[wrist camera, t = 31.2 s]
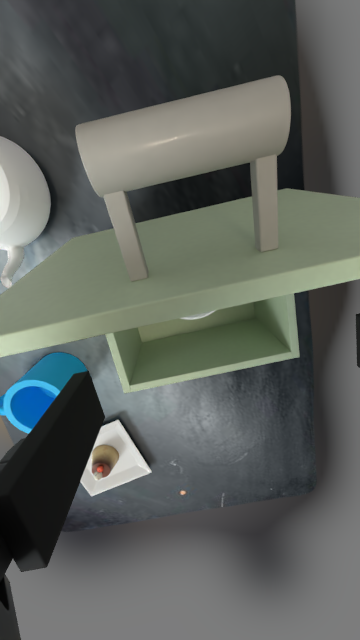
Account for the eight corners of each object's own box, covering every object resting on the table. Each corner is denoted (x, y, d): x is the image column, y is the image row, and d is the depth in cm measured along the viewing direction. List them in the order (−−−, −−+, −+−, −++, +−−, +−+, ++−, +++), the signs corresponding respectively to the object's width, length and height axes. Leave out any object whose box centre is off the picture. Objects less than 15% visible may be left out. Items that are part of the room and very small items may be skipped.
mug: (78, 346, 40) (55, 373, 32) (96, 393, 42) (78, 428, 34) (2, 364, 40) (-38, 394, 32) (24, 409, 43) (-9, 447, 35)
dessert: (119, 415, 43) (113, 435, 39) (152, 467, 47) (150, 491, 42) (56, 442, 45) (43, 465, 40) (93, 490, 48) (84, 517, 43)
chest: (260, 320, 39) (299, 356, 27) (138, 346, 40) (124, 393, 28) (245, 210, 35) (285, 194, 23) (108, 241, 36) (75, 242, 23)
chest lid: (515, 245, 8) (638, -41, 5) (-57, 370, 9) (-224, 175, 6) (287, 198, 22) (287, 114, 20) (75, 247, 23) (45, 172, 20)
